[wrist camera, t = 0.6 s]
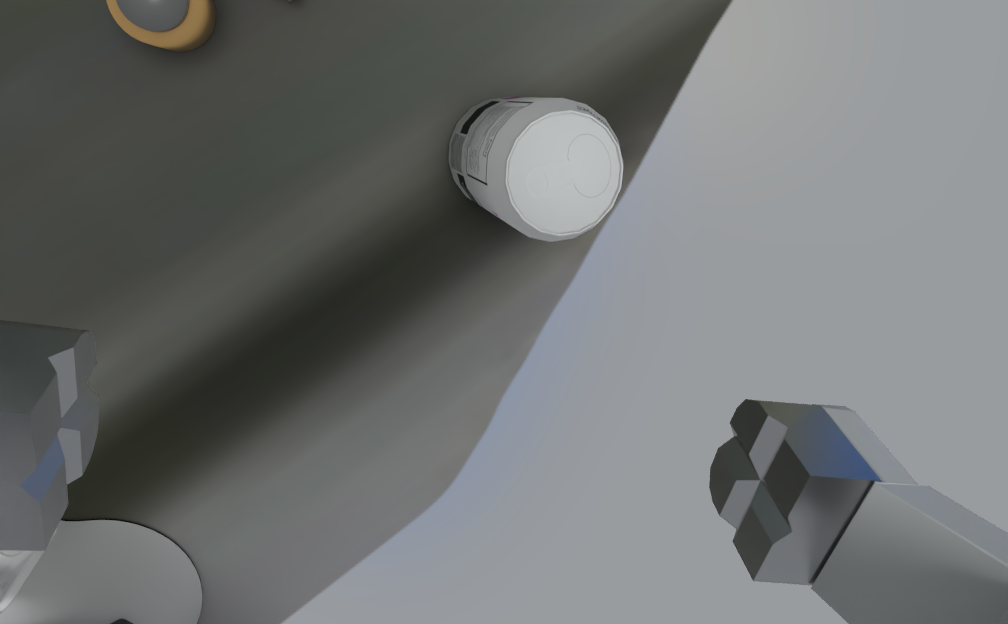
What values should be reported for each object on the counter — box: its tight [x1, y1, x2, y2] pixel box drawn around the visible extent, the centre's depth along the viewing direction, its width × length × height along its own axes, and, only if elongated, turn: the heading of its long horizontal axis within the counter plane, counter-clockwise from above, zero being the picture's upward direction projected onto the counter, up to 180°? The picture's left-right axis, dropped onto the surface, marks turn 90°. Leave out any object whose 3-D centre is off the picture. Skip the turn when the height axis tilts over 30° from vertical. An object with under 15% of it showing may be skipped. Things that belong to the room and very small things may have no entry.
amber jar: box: [107, 0, 216, 52], centre depth 45 cm, size 5×5×8 cm
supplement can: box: [448, 97, 623, 242], centre depth 49 cm, size 8×8×15 cm
